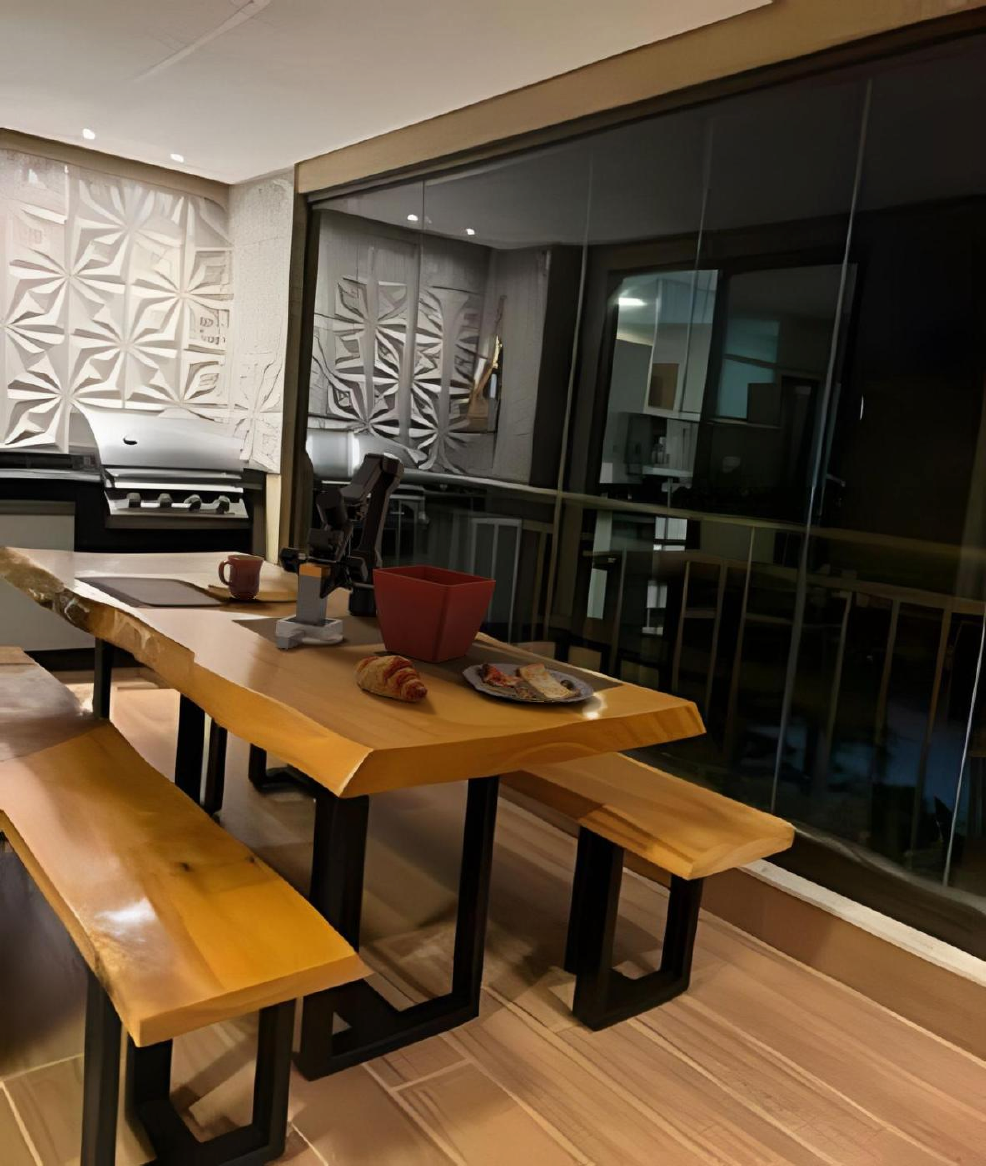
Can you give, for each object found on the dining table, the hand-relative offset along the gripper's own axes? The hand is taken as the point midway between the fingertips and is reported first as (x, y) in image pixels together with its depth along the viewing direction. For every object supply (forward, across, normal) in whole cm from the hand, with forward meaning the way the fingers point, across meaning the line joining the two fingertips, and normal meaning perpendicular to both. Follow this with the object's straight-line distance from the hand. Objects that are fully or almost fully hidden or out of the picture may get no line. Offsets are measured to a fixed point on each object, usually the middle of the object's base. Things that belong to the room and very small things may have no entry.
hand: (310, 595), depth 203 cm
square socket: (+8, 0, +5) cm, 9 cm away
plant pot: (+4, +26, +9) cm, 27 cm away
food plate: (+16, +50, -2) cm, 52 cm away
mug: (-14, -31, +27) cm, 43 cm away
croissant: (+27, +28, -14) cm, 41 cm away
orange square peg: (+4, 0, +6) cm, 7 cm away
